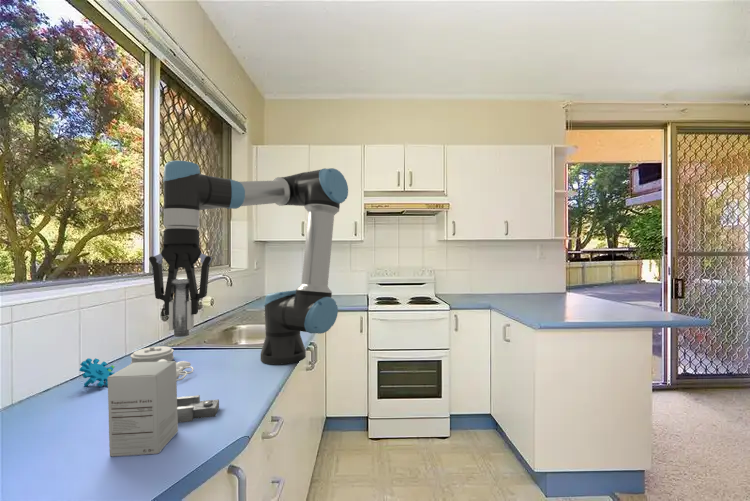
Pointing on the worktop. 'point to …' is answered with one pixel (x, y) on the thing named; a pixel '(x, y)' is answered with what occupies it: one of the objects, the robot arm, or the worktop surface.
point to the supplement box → (142, 408)
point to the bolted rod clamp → (195, 408)
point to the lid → (152, 354)
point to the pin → (180, 306)
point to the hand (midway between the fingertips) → (181, 328)
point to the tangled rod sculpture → (180, 368)
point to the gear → (96, 372)
